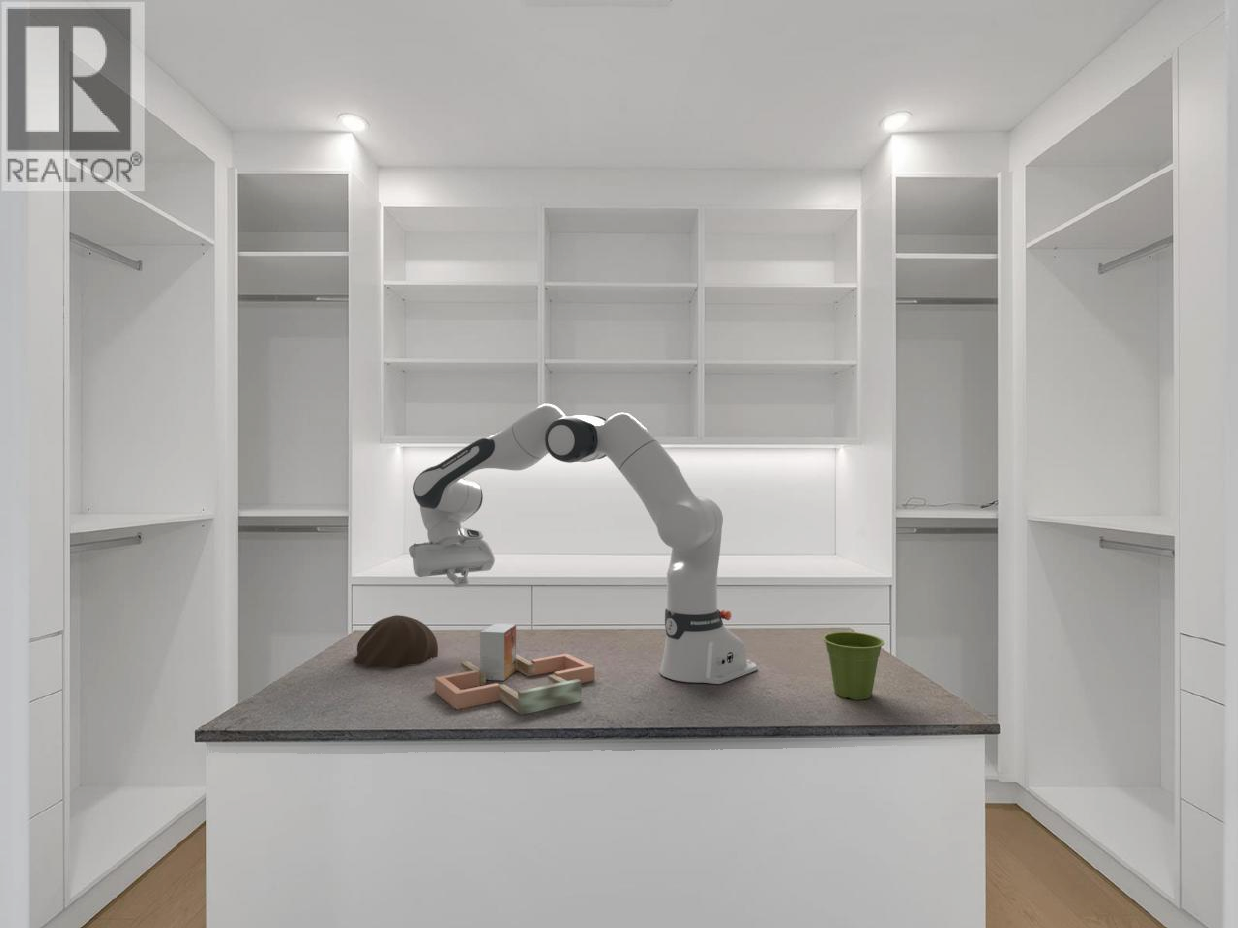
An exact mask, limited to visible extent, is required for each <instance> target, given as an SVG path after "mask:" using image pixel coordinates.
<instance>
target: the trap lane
mask: <svg viewBox="0 0 1238 928" xmlns="http://www.w3.org/2000/svg"><path fill="white" fill-rule="evenodd" d="M459 663H460V666H459V667H460V668H459V669H460V672H459V673H462V672H467V671H473V670H477V671H479V686H478V687H480V685H481V686H485V685H487V680H486V673H485V672H484V671H482V670H480V668H479V667H477V666H476V665H474V664H473V663H471V662H469V661H468V660H464V661H460V662H459ZM516 671H519V672H520V673H522V674H524V675H526V676H527V677H533V676H536V675H535V664H534V663H532V662H531V661H530V660H528V659H527V658H525V657H523V656H520V655H519V654H517V653H516ZM499 685H500V700H499V701H500V702H501V703H504V704H505V705H506V706H508V707H510V709H512V710H514V711H515V712H517V713H518V714H519V715H521V716H523V715H528V714H532V713H537V712H541V711H544V710H545V711H546V710H549V708H550V709H554V708H558V707H562V706H566V705H571V704H575V703H580V702H582V683H581V680H579V679H575V680H570V681H566V680H564V679H562V678H561V677H559V676H557V675H555V674H554V673H553V674H549V675H547V684H546V685H541V686H537V687H533V688H527V689H523V690H519V691H515V690H513V688H510V687H509V686H508V685H506V684H499Z"/></svg>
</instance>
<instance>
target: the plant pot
mask: <svg viewBox="0 0 1238 928" xmlns="http://www.w3.org/2000/svg"><path fill="white" fill-rule="evenodd" d="M822 641H823V642H825V647H826V652H827V653H828V659H829V664H830V665H829V666H830V671H831V672H830V673H831V678H832V685H833V692H834V693H835V695H837V696H839V697H840V698H845V699H846V698H850V699H852V700H855V701H859V700H866V699H869V698H870V697H871V696H873V695H872V694H873V689H874V685H875V678H876V673H877V666H878V661H879V658H880V656H881V650H882V647H883V646H884V645H885V641H884V639H882V638H881V637H880V636H879V637H878V636H876V635H872V634H868V633H863V632H857V631H856V632H855V631H837V632H836V631H834V632H830V633H829V632H828V633H826V634H824V635H823V636H822Z"/></svg>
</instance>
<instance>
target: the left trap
mask: <svg viewBox="0 0 1238 928" xmlns="http://www.w3.org/2000/svg"><path fill="white" fill-rule="evenodd" d="M500 685H501V684H499V683H498V682H496V683H491V684H486V685H481V686H479V671H477V670H473V671H467V672H462V673H460V672H457V673H452V674H447V675H446V674H445V675H440V676H436V677H435V676H434V693H435V692H436V693H435V694H437V695H438V696H439V697H440V696H441V697H440V698H441V699H443V700H444V701H445V702H446V703H448V704H449V705H450V706H451V707H452V708H454V709H455V708H456V709H457V710H460V709H459V708H462V709H466V708H470V707H475V706H479V705H485V704H489V703H493V702H499V701H500ZM475 686H476V687H475ZM469 687H471V688H469ZM464 688H466V689H464ZM460 689H461V690H460ZM456 709H455V710H456Z"/></svg>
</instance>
